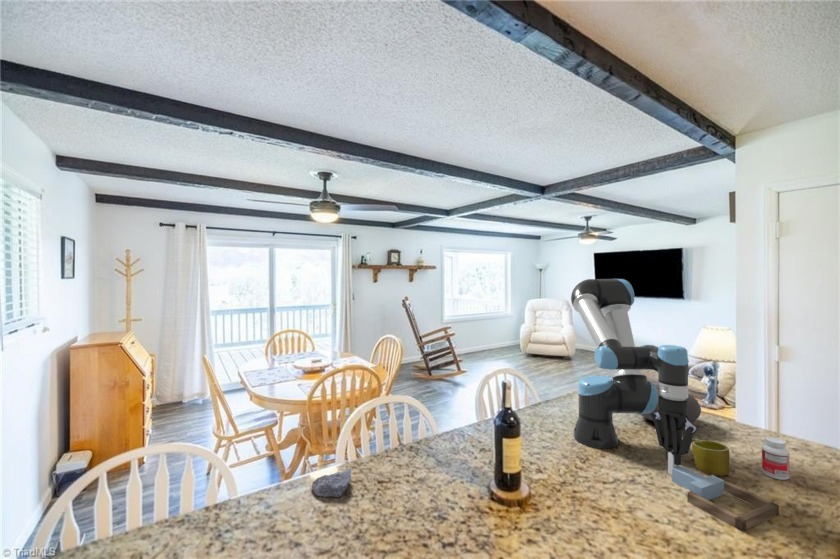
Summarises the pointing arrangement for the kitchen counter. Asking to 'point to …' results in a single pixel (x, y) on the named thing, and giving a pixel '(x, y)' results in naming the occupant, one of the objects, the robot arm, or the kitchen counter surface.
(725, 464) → the mug
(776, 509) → the bay
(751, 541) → the kitchen counter surface
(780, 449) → the pill bottle
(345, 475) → the rock
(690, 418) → the smooth stone
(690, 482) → the blue t-shaped block
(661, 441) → the robot arm
